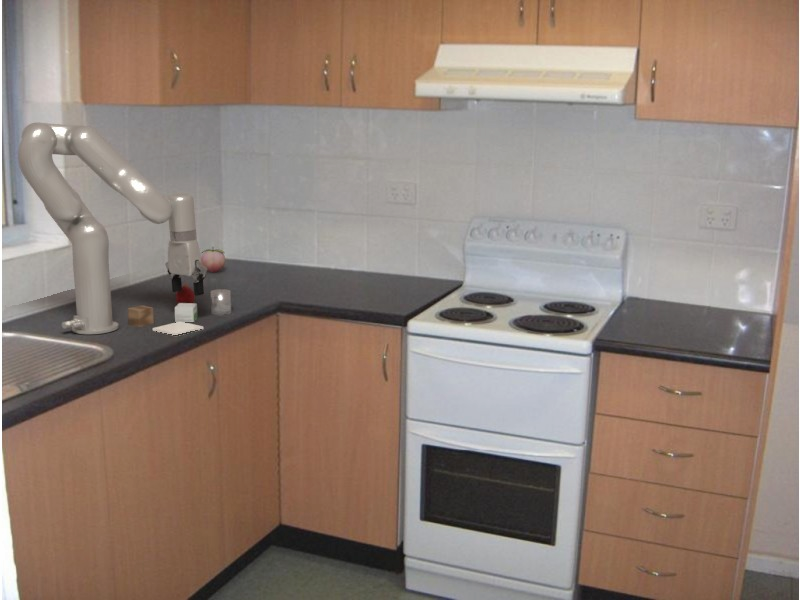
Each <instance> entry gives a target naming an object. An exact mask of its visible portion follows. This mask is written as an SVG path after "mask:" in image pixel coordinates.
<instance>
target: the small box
mask: <svg viewBox="0 0 800 600" xmlns="http://www.w3.org/2000/svg"><path fill="white" fill-rule="evenodd" d="M197 320H198V304H197V303H195V302H193V303H179V304H178V303H177V305H175V307H174V323H175V322H180V321H181V322H194V323H195V321H197Z"/></svg>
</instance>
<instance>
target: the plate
mask: <svg viewBox="0 0 800 600" xmlns="http://www.w3.org/2000/svg"><path fill="white" fill-rule="evenodd" d="M200 329H202V330H204V326H202V325H198V324H194V323H185V322H181V321H180V322H176V323H175V322H172V323H168V324H164V325H160V326H155V327H152V331H153V332H156V331H157V332H156V333H160V332H162V333H161V334H164V333H167V334H166V335H168V334H172V335H171V336H173V335H178V334H182V333H186V332H190V331H195V330H198V331H201V330H200ZM195 332H196V331H195Z"/></svg>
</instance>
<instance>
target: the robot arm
mask: <svg viewBox="0 0 800 600" xmlns="http://www.w3.org/2000/svg"><path fill="white" fill-rule="evenodd" d="M53 155H60V156H77V157H78V158H79V159H80V160H81V161H82V162H83V163H84V164H85V165H86V166H87V167H89V168H90V170H92V171H93V173H95V174H96V175H97V176H98V177H99V178H100V179H101V180H102V181H103V182H104V183H105V184H106V185H107V186H109V187H110V188H111V189H113V190H114V191H115V192H118V193H119V194H120V195H121V196H123V198H125V199H126V200H128V202H129V203H130V204H132V205H133V206H134V208H136V210H138V211H139V214H140V215H141V216H142V217H143V218H144V219H145V220H147V221H149V222H151V223H153V224H158V225H160V224H164V223H166V222H167V221H168V227H169V228H168V229H169V239H170V240H169V241H168V249H167V252H168V253H167V262H165V268H166V270H167V273H168V275H169V279H171V287H172V288H171V289H172V293H177V292H178V291H181V290H182V287H183V284H182V278H181V277H180V276H182V277H191V278H192V279H193V292H194V295H195V297H198V296H202V295H204V294H205V292H204V291H205V290H204V289H205V288H204V281H205V279H206V277H207V272H208V270H207V268H206V267H205V266H204V265H203V264H202V263H201V257H202V255H201V251H200V245H199V242H198V238H197V227H196V226H197V225H196V216H195V215H196V214H195V202H194V201H195V200H194V197H193V195H192V194H189V193H174V194H169V195H168V194H167V195H166V194H165V195H164V194H163V195H162V194H161V193H160V191H158V190H157V189H156V188H155V186H153V185H152V184H151V183H150V182H149V181H148V180H147V179H146V178H145V177H144V176H143V175H141V173H139V171H138V170H137V169H136V168H135V167H134V166H133V165H132V164H131V163H130V162H129V161H128V160H127V159H126V158H125V157H124V156H123V155H122V154H121V153H120V152H118V151H117V149H115V147H113V146H112V144H110V143H109V142H108V141H107V140H106V138H104V137H103V136H102V134H100V133H99V132H98V131H97V130H95V129H94V128H93V127H91V126H87V125H81V124H79V125H78V124H77V125H76V124H74V125H73V124H72V125H71V124H60V123H48V122H47V123H46V122H31V123H29V124H27V125H26V126H25V127H24V128H23V130H22V132H21V140H20V143H19V146H18V151H17V161H18V166H19V169H20V171H21V173H22V175H23V177H24V179H25V180H26V181H27V183H28V184H29V187H31V189H32V190H33V191H34V192H35V194H36V196H37V197H38V198H39V199H40V201H41V202H42V204H43V205H44V206H43V207H44V209H45V210H46V212H47V213H48V215H50V217H51V219H52V220H53V221H54V222H55V224H56V225H57V226H58V227H59V229H60V230H61V232H63V234H64V236H66V238H68V240H69V241H70V243H71V247H72V266H73V267H72V271H73V279H74V293H75V294H74V295H75V307H76V315H73V318H72V319H71V320H67V321H62V322H61V328H62V329H64V330H65V329H69V328H71V329H72V332H73V333H75V334H79V335H101V334H107V333H111V332H114V331H117V330H118V329H119V328H120V327H119V323H118V322H116V321H114V320H113V306H112V294H111V292H112V291H111V278H110V277H111V276H110V264H109V262H110V261H109V253H110V251H109V250H110V249H109V245H110V244H109V243H110V242H109V241H110V239H109V236H108V231H107V230H106V227H104V225H103V224H102V223H100V221H98V220H97V218H96V217H95V216H94V215H93V214H92V212H91V211H90V209H89V208H88V207H87V206H86V204H85V203H84V202H83V200H82V197H81V195H80V194H79V193H78V192H77V191H76V190H75V189H74V188H73V187H72V186H71V185H70V183H69V181H68V180H67V179H66V178H65V177H64V176H63V174H62V173H61V171H60V169H59V168H58V167H57V165H56V164H55V162H54V159H53Z"/></svg>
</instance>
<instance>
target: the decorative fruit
mask: <svg viewBox="0 0 800 600" xmlns="http://www.w3.org/2000/svg"><path fill="white" fill-rule="evenodd" d="M211 247H212V248H211V249H210V248H209V249H204V250H202V251H201V254H202V255H201V263H202V264H203V265H204V266H205V267H206V268H207V271H209V272H212V273H217V272H218V271H220V270H221V269H223V267H224V266H225V263H226V256H225V251H224V250H222V249H220V248H218V249H217V248H215V249H214V246H211Z"/></svg>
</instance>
